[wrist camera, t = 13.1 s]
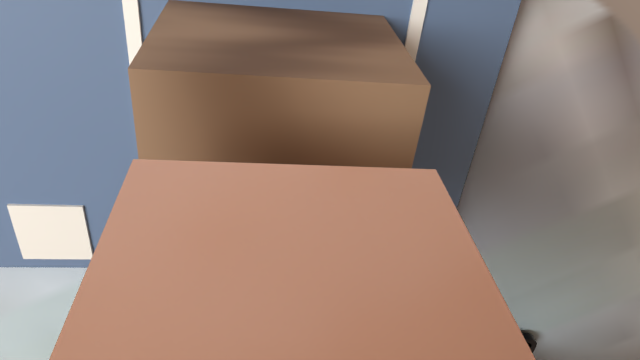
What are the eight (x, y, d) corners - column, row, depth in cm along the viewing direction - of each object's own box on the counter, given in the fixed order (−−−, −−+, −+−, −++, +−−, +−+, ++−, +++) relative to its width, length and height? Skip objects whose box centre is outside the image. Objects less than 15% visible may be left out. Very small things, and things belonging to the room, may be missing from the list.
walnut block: (383, 15, 14) (431, 85, 10) (355, 186, 18) (382, 291, 14) (168, -1, 14) (127, 68, 10) (181, 182, 17) (154, 291, 13)
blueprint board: (526, -53, 14) (537, -48, 14) (434, 259, 21) (438, 271, 20) (-179, -119, 12) (-201, -117, 11) (-33, 255, 19) (-42, 268, 18)
